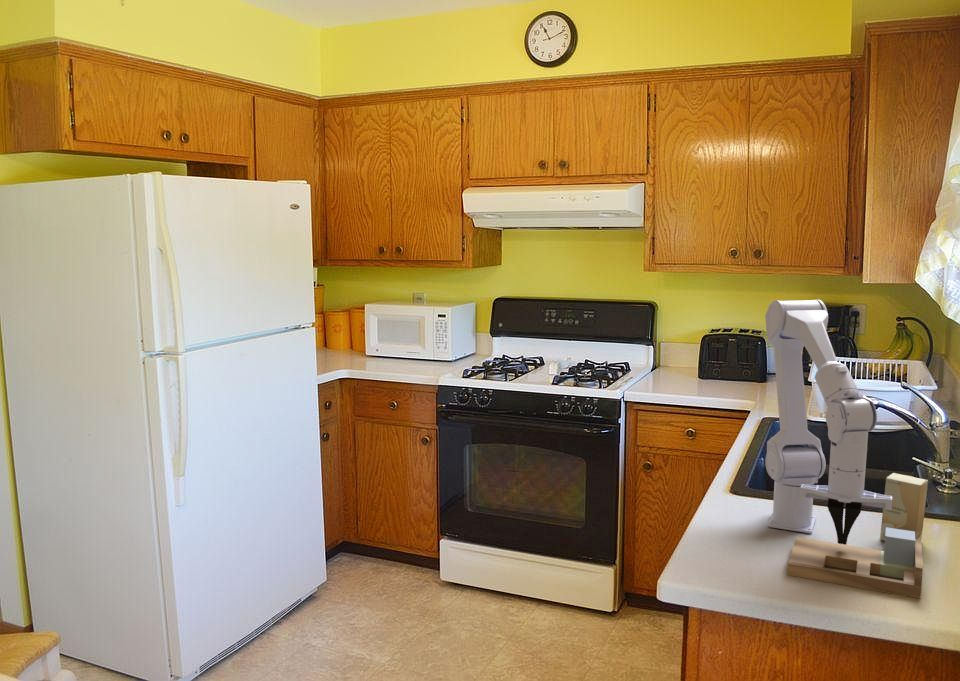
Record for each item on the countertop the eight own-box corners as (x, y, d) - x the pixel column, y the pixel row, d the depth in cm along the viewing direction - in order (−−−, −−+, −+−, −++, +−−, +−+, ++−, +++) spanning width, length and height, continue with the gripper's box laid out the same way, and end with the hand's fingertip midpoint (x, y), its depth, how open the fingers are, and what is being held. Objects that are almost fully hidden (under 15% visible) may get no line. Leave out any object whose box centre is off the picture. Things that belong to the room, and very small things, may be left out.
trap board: (795, 547, 152) (797, 521, 152) (919, 567, 144) (921, 540, 143) (786, 574, 141) (788, 546, 140) (920, 598, 132) (922, 568, 131)
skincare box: (879, 540, 156) (883, 477, 154) (886, 533, 159) (891, 471, 157) (916, 549, 152) (921, 484, 150) (923, 542, 155) (928, 479, 153)
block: (884, 552, 145) (885, 527, 145) (913, 556, 143) (915, 531, 143) (883, 561, 141) (885, 536, 141) (913, 566, 139) (915, 540, 139)
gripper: (800, 467, 144) (795, 542, 146) (894, 479, 137) (888, 558, 139) (804, 457, 150) (800, 529, 152) (894, 467, 143) (888, 543, 145)
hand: (842, 542), depth 146 cm, fingers closed
